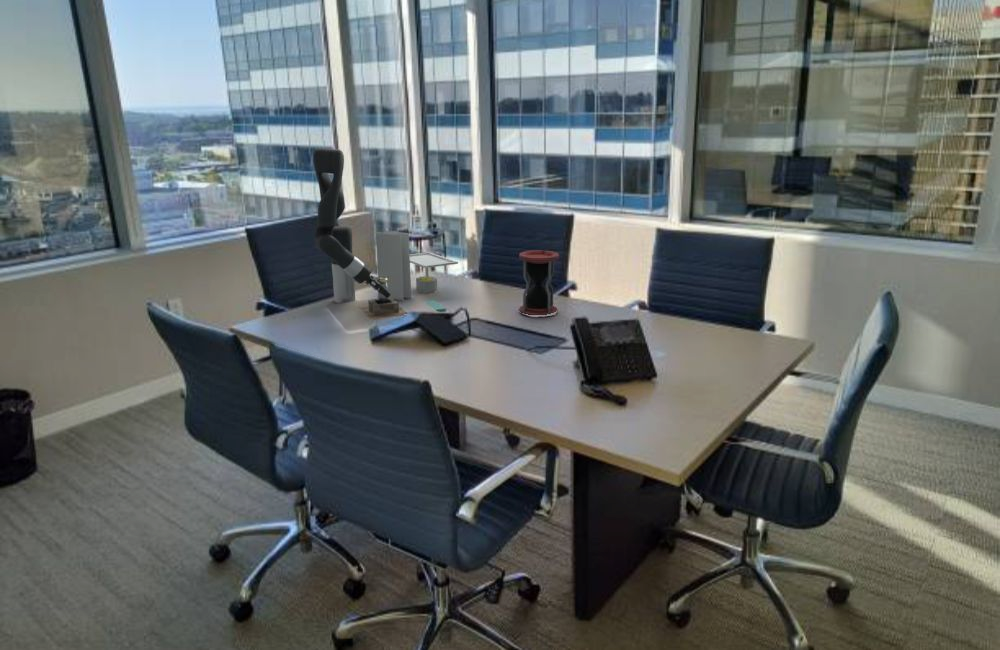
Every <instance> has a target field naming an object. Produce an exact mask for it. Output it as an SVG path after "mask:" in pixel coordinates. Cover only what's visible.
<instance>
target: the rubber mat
mask: <svg viewBox="0 0 1000 650" xmlns="http://www.w3.org/2000/svg"><path fill="white" fill-rule="evenodd" d="M424 304H427V305H428V306H429V307H431V308H432V309H434V310H435V311H436V312H438V311H440V312H445V310H446V311H447V308H446V307H444V306H443V305H442V304H440V303H439V302H438V301H436V300H428V301H424Z"/></svg>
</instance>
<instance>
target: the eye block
mask: <svg viewBox="0 0 1000 650" xmlns="http://www.w3.org/2000/svg"><path fill="white" fill-rule="evenodd" d="M367 301H368V306H367V305H364V306H359V308H358V309H360V310H361V311H362V313H364V314H365V315H366V316H367V317H368V318H369V319H370V320H378V319H379V320H380V319H386V318H394V317H402V315H403V316H405V315H404V314H407V313H408V312H407V311H406V310H404V308H402V307H401V306H400V305H399V302H398V301H397V300H396V299H393V298H392V297H391V298H388V303H383V304H378V298H375V299H368V300H367Z"/></svg>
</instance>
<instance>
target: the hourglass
mask: <svg viewBox="0 0 1000 650" xmlns="http://www.w3.org/2000/svg"><path fill="white" fill-rule="evenodd" d="M518 257H519V260H522V261H523V269H522V270H523V274H522V275H523V280H524V281H525V285H526V286H525V289H524V291H523V294H522V305H520V306H519V308H518V312H519V311H520V312H521V313H524V314H528V315H547V314H551V313H554V312H556V311H557V312H558V308H557V307H556V306H555V305H554V287H553V286H552V278H553V276H554V274H555V261H558V260H559V258H560V254H559V253H558V252H555V251H551V250H541V249H539V250H536V249H534V250H525V251H522V252H520V253H519V256H518ZM527 276H528V278H527ZM546 279H547V280H546ZM545 280H546V282H545V285H543V282H544V281H545ZM533 282H534V283H535V284H534V285H533ZM532 285H533V286H532ZM531 286H532V287H531Z"/></svg>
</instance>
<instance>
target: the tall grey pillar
mask: <svg viewBox="0 0 1000 650" xmlns="http://www.w3.org/2000/svg"><path fill="white" fill-rule="evenodd" d="M375 244H376V247H375V249H376V262H377V263H376V265H377V278H378V277H387V288H388V292H389V293H390V296H389V297H388V298H391V297H392V298H393V299H394V300H399V301H404V300H405V299H406V298H407V299H412V282H411V281H412V280H411V263H410V233H408V232H401V231H400V232H399V231H390V230H383V231H380V232H379V231H378V232H377V231H376V232H375ZM404 298H405V299H404Z"/></svg>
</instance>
